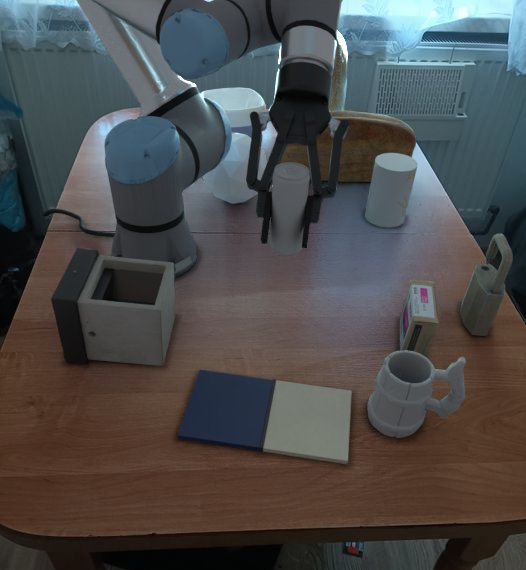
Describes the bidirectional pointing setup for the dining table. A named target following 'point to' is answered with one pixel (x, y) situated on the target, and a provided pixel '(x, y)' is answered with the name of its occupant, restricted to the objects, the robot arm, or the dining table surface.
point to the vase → (339, 76)
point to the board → (269, 416)
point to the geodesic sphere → (234, 172)
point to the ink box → (419, 318)
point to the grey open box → (115, 309)
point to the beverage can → (288, 208)
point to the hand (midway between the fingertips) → (284, 243)
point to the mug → (412, 393)
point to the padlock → (486, 289)
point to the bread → (357, 145)
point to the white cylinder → (390, 189)
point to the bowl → (237, 106)
